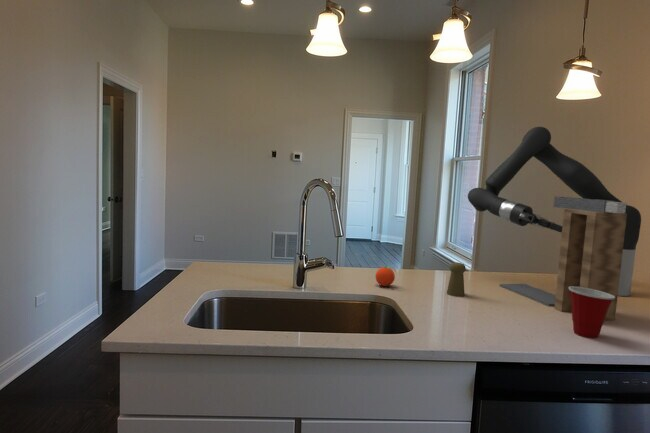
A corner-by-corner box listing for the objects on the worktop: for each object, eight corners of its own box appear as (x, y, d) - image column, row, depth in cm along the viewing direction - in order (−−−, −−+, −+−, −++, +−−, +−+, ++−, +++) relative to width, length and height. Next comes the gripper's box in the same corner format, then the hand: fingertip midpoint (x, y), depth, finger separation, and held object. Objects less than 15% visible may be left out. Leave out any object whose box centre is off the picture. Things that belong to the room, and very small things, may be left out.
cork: (467, 294, 154) (470, 263, 153) (459, 297, 150) (462, 265, 149) (451, 290, 159) (454, 260, 158) (443, 293, 154) (445, 262, 153)
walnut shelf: (583, 307, 145) (593, 209, 142) (614, 319, 133) (626, 213, 130) (554, 308, 142) (564, 208, 139) (584, 321, 131) (595, 212, 128)
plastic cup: (620, 342, 114) (625, 296, 113) (580, 341, 113) (585, 295, 112) (592, 327, 125) (596, 285, 124) (555, 326, 124) (559, 284, 123)
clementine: (391, 283, 166) (392, 264, 165) (400, 287, 159) (401, 268, 159) (371, 283, 163) (372, 264, 163) (379, 288, 157) (381, 268, 156)
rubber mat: (524, 285, 172) (524, 283, 172) (576, 305, 147) (577, 303, 147) (499, 285, 170) (499, 283, 170) (548, 306, 145) (548, 303, 144)
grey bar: (562, 207, 150) (563, 196, 149) (625, 214, 126) (627, 201, 126) (553, 206, 149) (554, 196, 148) (615, 213, 126) (617, 201, 125)
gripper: (509, 199, 159) (551, 213, 146) (529, 206, 167) (571, 221, 154) (500, 218, 160) (542, 234, 147) (521, 225, 168) (562, 241, 156)
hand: (556, 227), depth 151 cm, fingers open, 8 cm apart
